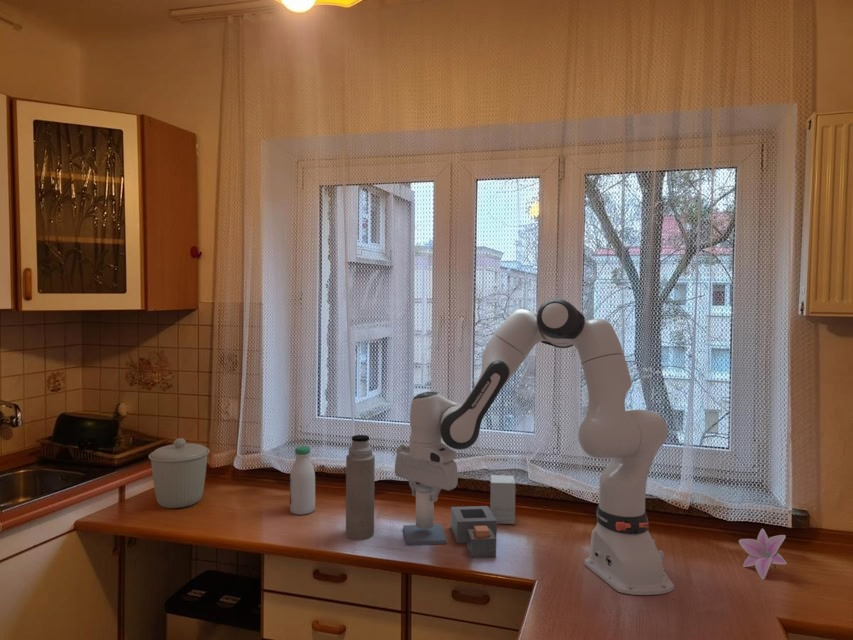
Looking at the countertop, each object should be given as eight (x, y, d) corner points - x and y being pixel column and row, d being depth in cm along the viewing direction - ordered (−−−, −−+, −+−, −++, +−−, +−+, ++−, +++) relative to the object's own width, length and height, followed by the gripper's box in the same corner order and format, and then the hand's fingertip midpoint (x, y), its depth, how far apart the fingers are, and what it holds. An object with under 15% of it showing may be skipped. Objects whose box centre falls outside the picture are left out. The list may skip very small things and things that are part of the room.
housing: (496, 541, 156) (496, 520, 156) (457, 543, 155) (457, 521, 155) (487, 525, 167) (488, 505, 167) (450, 527, 166) (451, 507, 166)
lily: (737, 559, 150) (726, 531, 147) (783, 547, 147) (774, 518, 144) (756, 595, 139) (745, 566, 136) (807, 583, 136) (797, 553, 133)
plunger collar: (495, 557, 147) (496, 538, 147) (471, 558, 146) (471, 539, 146) (490, 546, 153) (490, 528, 153) (467, 547, 152) (467, 529, 152)
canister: (170, 491, 193) (170, 430, 192) (220, 495, 190) (220, 433, 190) (136, 511, 175) (135, 444, 174) (190, 515, 173) (190, 447, 172)
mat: (446, 543, 155) (446, 540, 155) (406, 545, 153) (406, 541, 153) (440, 527, 166) (440, 524, 166) (403, 528, 164) (403, 525, 164)
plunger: (489, 553, 148) (489, 530, 148) (476, 553, 148) (476, 531, 147) (486, 547, 151) (486, 525, 151) (473, 548, 151) (474, 525, 151)
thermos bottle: (361, 525, 166) (362, 431, 165) (379, 533, 161) (380, 436, 160) (340, 534, 160) (340, 436, 159) (358, 542, 155) (358, 441, 154)
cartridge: (435, 527, 158) (436, 487, 158) (418, 529, 156) (419, 489, 156) (429, 520, 163) (430, 482, 162) (413, 522, 161) (413, 484, 161)
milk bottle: (320, 509, 178) (320, 446, 178) (302, 517, 172) (302, 452, 171) (302, 504, 183) (302, 443, 182) (284, 512, 176) (284, 448, 175)
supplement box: (513, 515, 176) (514, 475, 175) (515, 525, 168) (515, 483, 168) (489, 514, 176) (490, 474, 176) (490, 523, 169) (490, 481, 168)
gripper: (390, 445, 163) (389, 493, 163) (447, 458, 150) (447, 510, 151) (404, 441, 168) (403, 487, 168) (461, 453, 155) (460, 503, 156)
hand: (424, 498), depth 159 cm, fingers closed on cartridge, 5 cm apart
